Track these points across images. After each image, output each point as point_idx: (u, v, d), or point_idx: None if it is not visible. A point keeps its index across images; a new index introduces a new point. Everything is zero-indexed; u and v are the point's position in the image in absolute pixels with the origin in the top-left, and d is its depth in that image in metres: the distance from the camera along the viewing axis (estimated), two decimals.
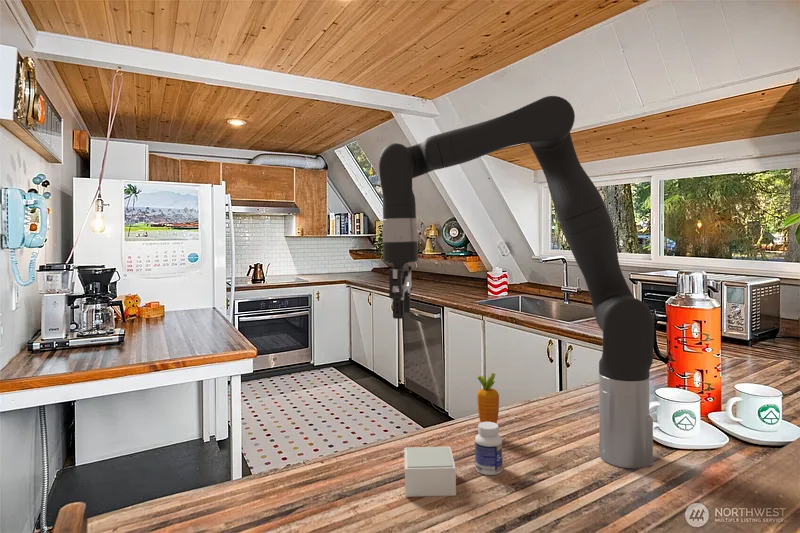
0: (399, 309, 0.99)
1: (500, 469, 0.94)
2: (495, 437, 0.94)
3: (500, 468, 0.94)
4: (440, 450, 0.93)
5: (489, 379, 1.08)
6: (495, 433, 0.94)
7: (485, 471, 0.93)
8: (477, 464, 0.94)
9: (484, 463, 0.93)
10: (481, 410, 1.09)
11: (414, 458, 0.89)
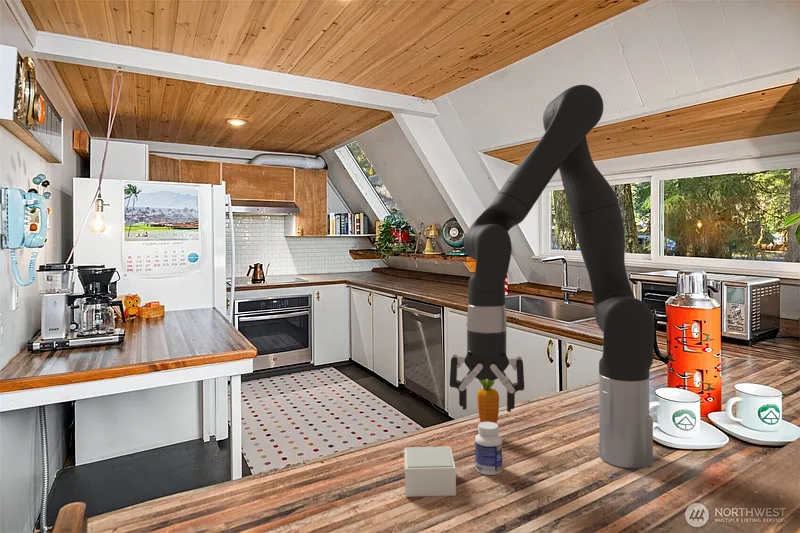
0: None
1: (500, 469, 0.94)
2: (495, 437, 0.94)
3: (500, 468, 0.94)
4: (440, 450, 0.93)
5: None
6: (495, 433, 0.94)
7: (485, 471, 0.93)
8: (477, 464, 0.94)
9: (484, 463, 0.93)
10: (481, 410, 1.09)
11: (414, 458, 0.89)
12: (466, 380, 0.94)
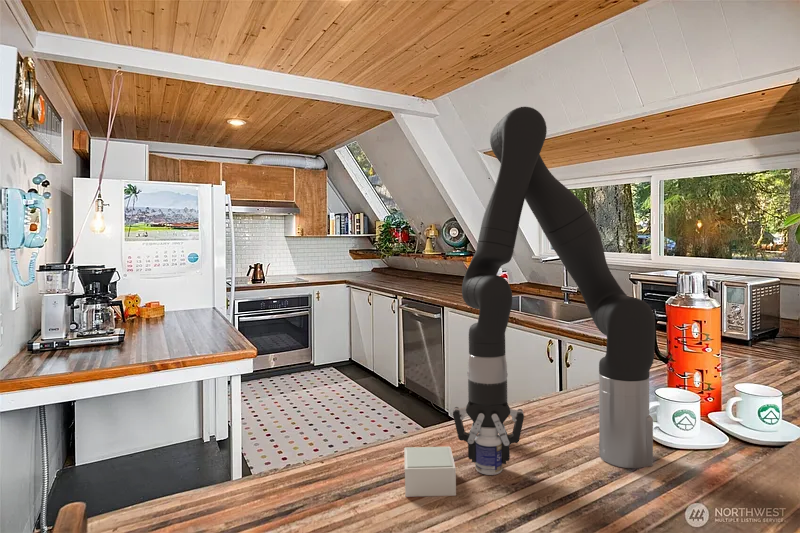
0: None
1: (500, 469, 0.94)
2: (495, 436, 0.94)
3: (500, 468, 0.94)
4: (440, 450, 0.93)
5: None
6: (495, 433, 0.94)
7: (485, 471, 0.93)
8: (477, 464, 0.94)
9: (484, 463, 0.93)
10: None
11: (414, 458, 0.89)
12: (472, 432, 0.94)
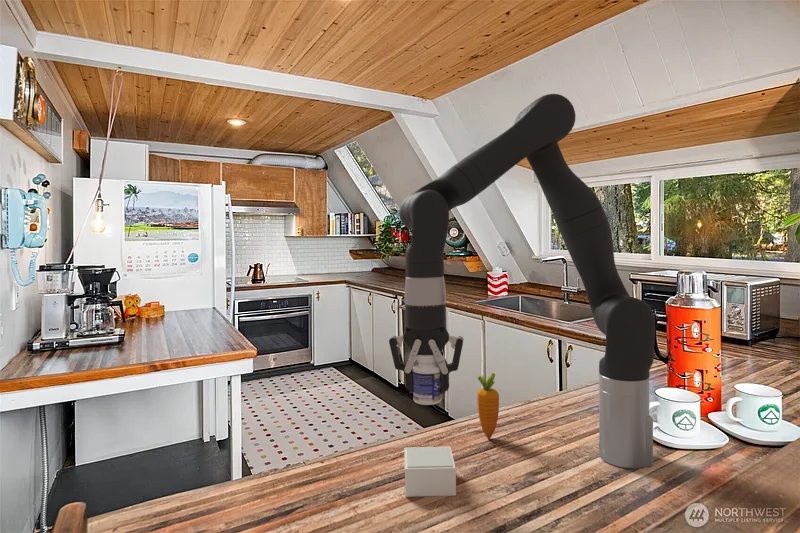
0: None
1: (438, 399, 0.88)
2: (433, 364, 0.88)
3: (438, 398, 0.88)
4: (440, 450, 0.93)
5: (489, 379, 1.08)
6: (433, 360, 0.88)
7: (421, 401, 0.88)
8: (414, 394, 0.89)
9: (421, 392, 0.87)
10: (481, 410, 1.09)
11: (414, 458, 0.89)
12: (409, 360, 0.89)
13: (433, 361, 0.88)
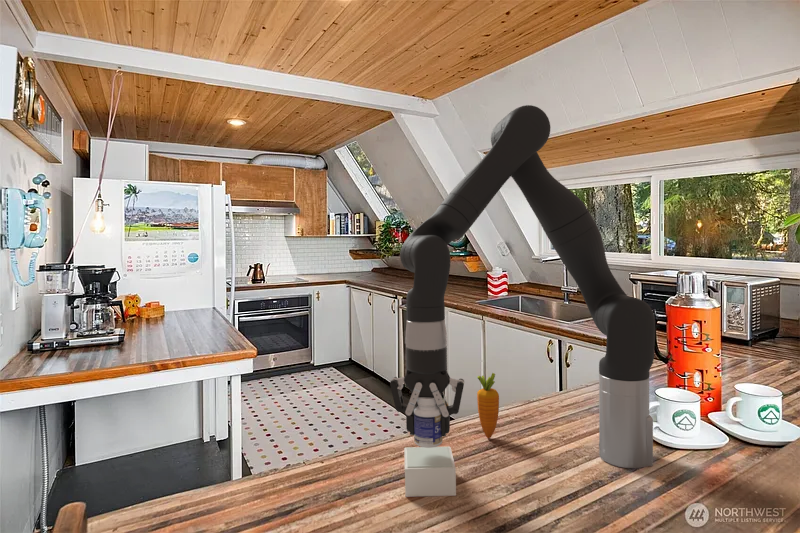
0: (449, 423, 0.90)
1: (439, 441, 0.89)
2: (434, 407, 0.89)
3: (439, 440, 0.89)
4: (440, 450, 0.93)
5: (489, 379, 1.08)
6: (434, 403, 0.88)
7: (422, 443, 0.88)
8: (415, 436, 0.89)
9: (422, 435, 0.88)
10: (481, 410, 1.09)
11: (414, 458, 0.89)
12: (410, 403, 0.89)
13: (434, 404, 0.88)
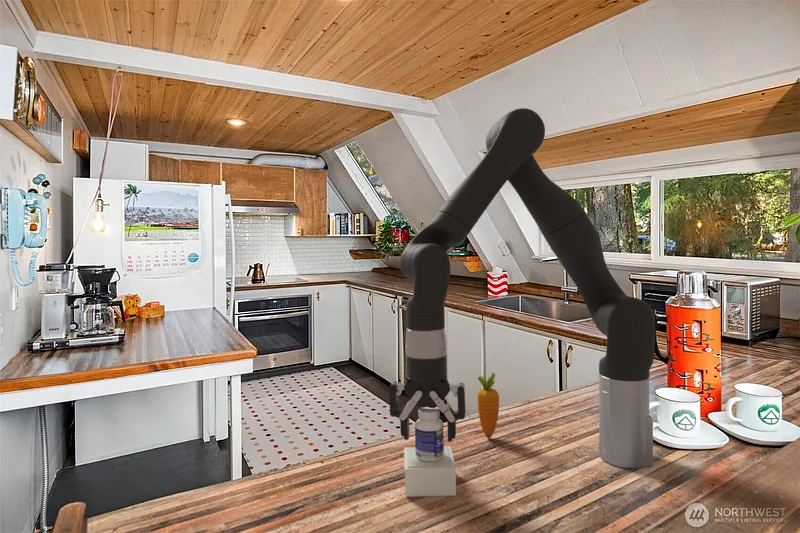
0: None
1: (440, 455, 0.89)
2: (435, 421, 0.89)
3: (440, 454, 0.89)
4: None
5: (489, 379, 1.08)
6: (435, 417, 0.88)
7: (424, 457, 0.88)
8: (416, 450, 0.89)
9: (423, 449, 0.88)
10: (481, 410, 1.09)
11: (414, 458, 0.89)
12: (406, 409, 0.89)
13: (435, 418, 0.88)
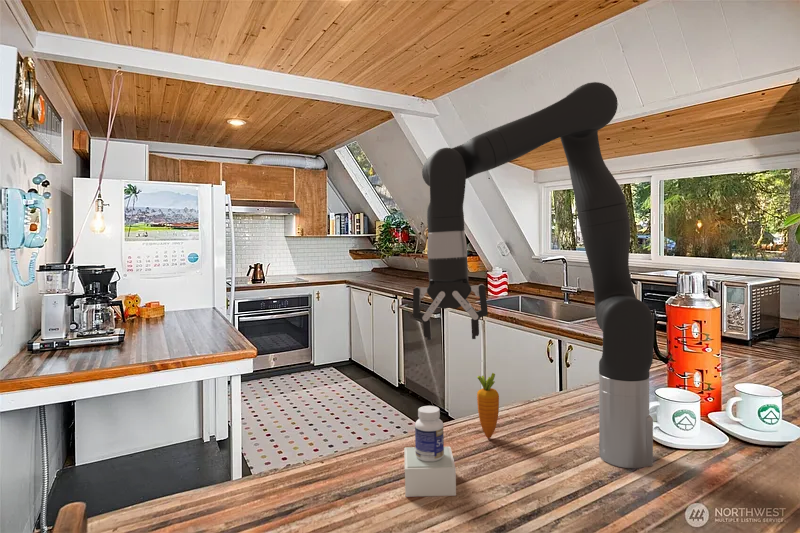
0: None
1: (440, 455, 0.89)
2: (436, 421, 0.89)
3: (440, 454, 0.89)
4: None
5: (489, 379, 1.08)
6: (435, 417, 0.88)
7: (424, 457, 0.88)
8: (416, 450, 0.89)
9: (423, 449, 0.88)
10: (481, 410, 1.09)
11: (414, 458, 0.89)
12: (429, 310, 0.93)
13: (435, 418, 0.88)
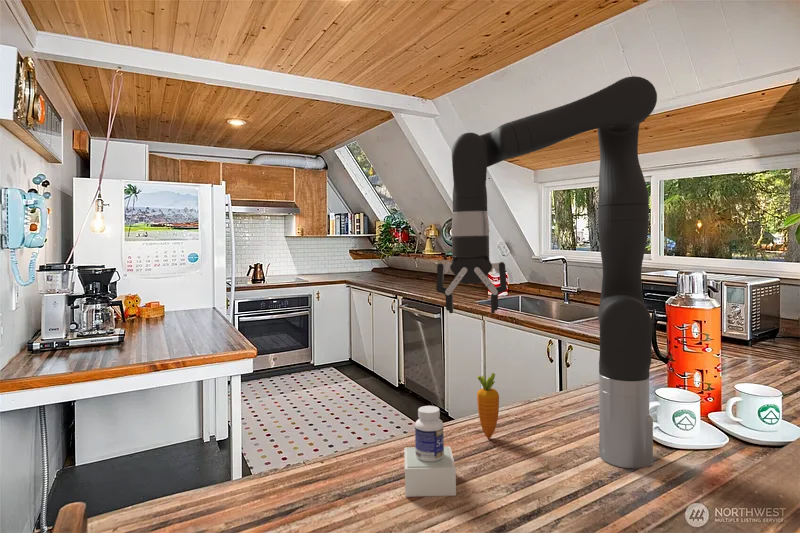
0: None
1: (440, 455, 0.89)
2: (435, 421, 0.89)
3: (440, 454, 0.89)
4: None
5: (489, 379, 1.08)
6: (435, 417, 0.88)
7: (424, 457, 0.88)
8: (416, 450, 0.89)
9: (423, 449, 0.88)
10: (481, 410, 1.09)
11: (414, 458, 0.89)
12: (452, 284, 0.99)
13: (435, 418, 0.88)
